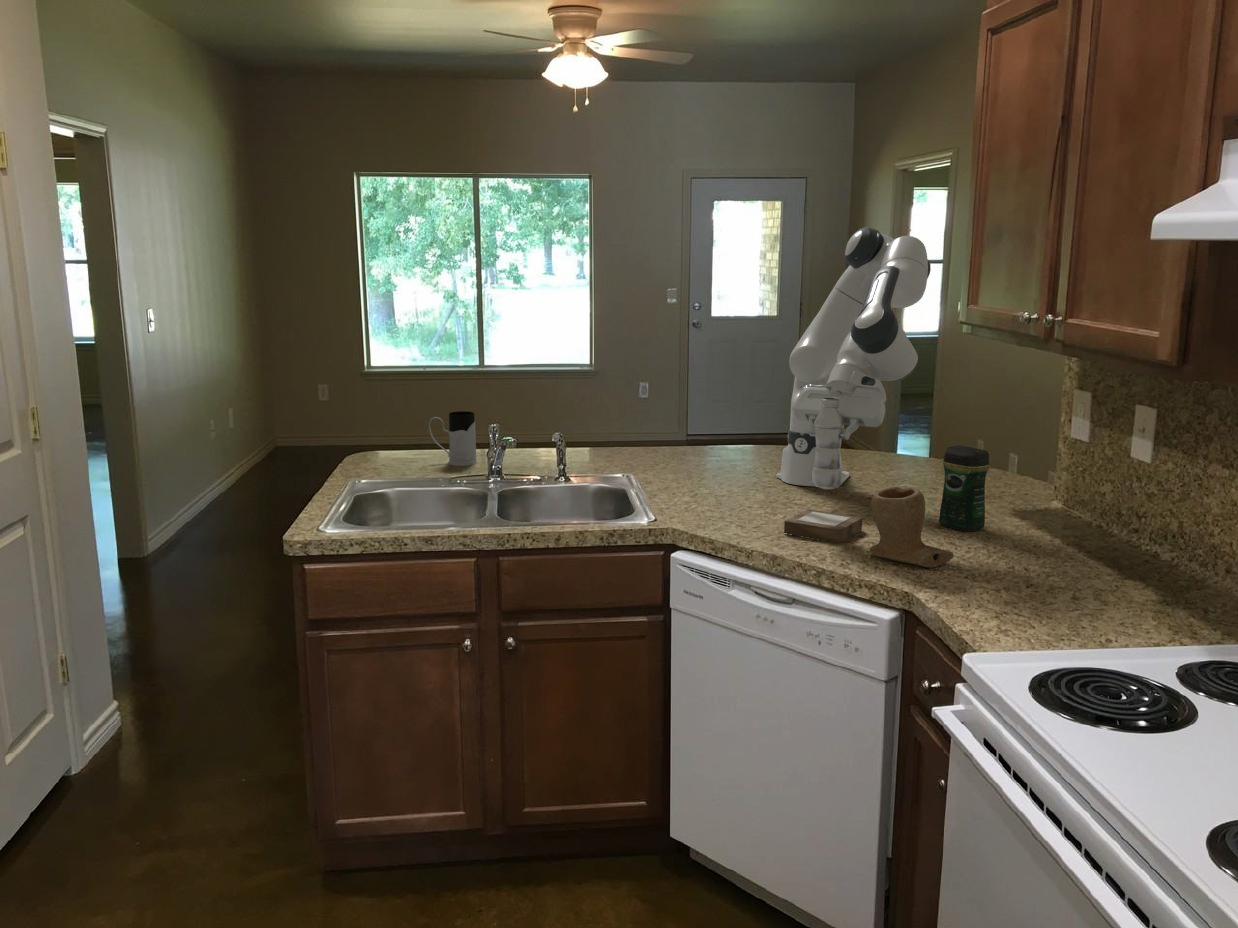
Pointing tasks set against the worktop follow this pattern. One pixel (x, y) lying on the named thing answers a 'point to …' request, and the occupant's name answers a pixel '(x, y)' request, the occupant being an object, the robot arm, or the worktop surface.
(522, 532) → the worktop surface
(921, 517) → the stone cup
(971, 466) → the coffee jar
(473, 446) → the grey and black mug
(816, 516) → the walnut slab
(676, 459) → the worktop surface
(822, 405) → the plastic bottle
